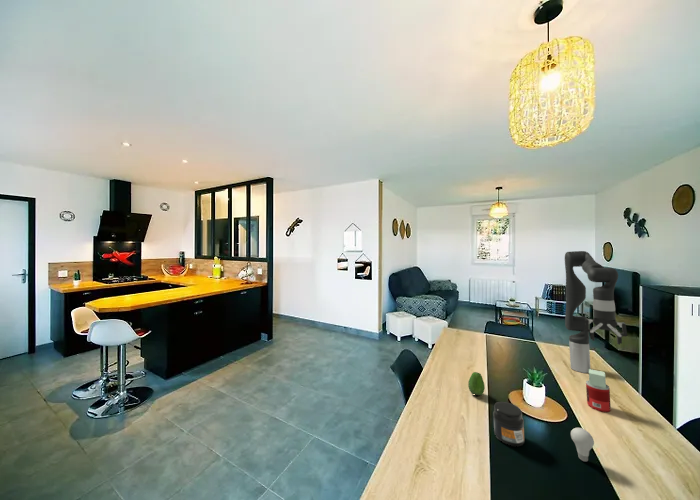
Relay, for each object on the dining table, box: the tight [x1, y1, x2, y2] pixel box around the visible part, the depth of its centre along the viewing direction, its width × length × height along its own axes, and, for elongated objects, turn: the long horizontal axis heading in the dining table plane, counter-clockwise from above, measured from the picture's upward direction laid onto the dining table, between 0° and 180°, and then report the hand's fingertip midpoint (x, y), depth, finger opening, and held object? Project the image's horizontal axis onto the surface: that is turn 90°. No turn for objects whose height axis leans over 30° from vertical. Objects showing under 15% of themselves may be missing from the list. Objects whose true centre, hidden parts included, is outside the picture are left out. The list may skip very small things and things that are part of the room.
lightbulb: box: [570, 427, 595, 462], centre depth 89 cm, size 6×6×11 cm
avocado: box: [467, 371, 485, 396], centre depth 132 cm, size 8×8×12 cm
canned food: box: [585, 380, 611, 413], centre depth 118 cm, size 8×8×11 cm
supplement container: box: [492, 401, 526, 447], centre depth 101 cm, size 10×10×12 cm
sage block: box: [588, 368, 607, 389], centre depth 118 cm, size 6×6×6 cm
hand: (605, 342), depth 121 cm, fingers open, 8 cm apart
